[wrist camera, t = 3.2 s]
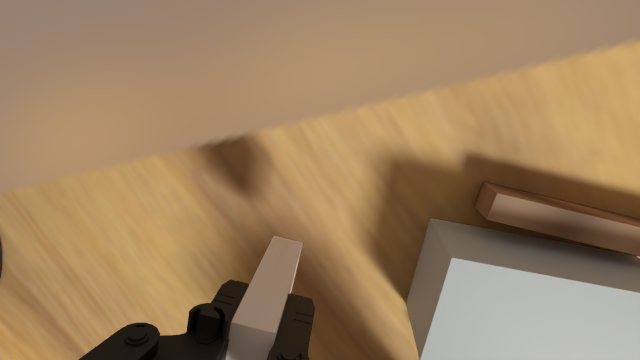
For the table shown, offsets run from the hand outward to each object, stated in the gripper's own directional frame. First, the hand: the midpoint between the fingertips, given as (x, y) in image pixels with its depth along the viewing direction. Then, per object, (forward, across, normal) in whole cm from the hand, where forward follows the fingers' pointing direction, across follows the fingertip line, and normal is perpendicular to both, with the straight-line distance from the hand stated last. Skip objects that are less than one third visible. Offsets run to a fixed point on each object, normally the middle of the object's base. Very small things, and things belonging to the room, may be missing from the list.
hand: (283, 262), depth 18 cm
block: (+5, +14, 0) cm, 14 cm away
